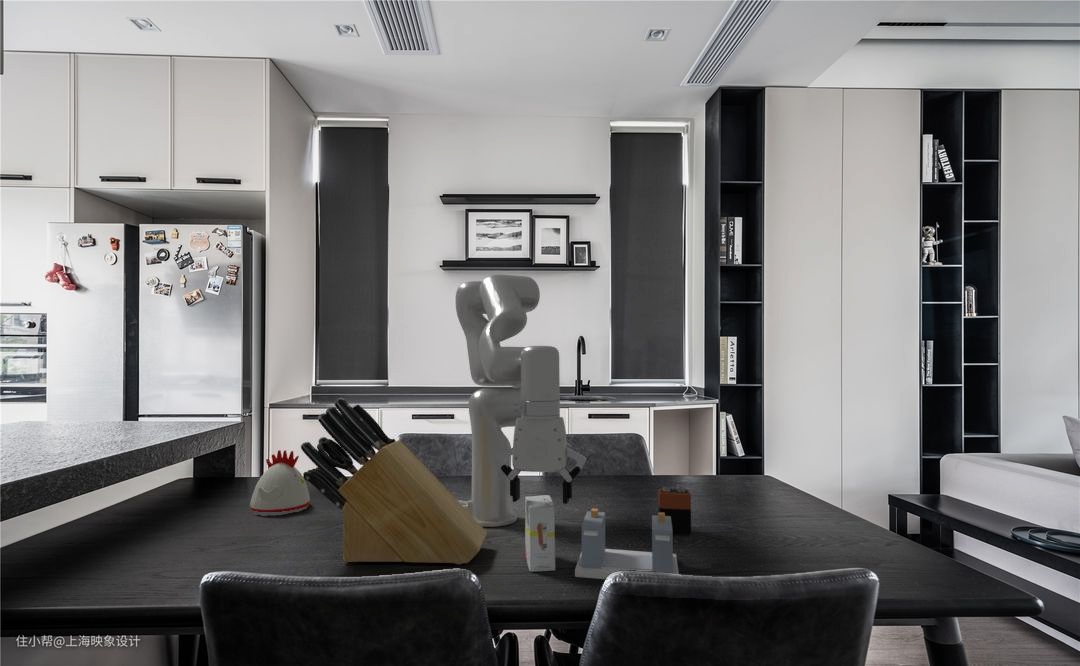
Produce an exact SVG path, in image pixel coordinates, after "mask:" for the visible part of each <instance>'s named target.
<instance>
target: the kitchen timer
mask: <svg viewBox="0 0 1080 666" xmlns="http://www.w3.org/2000/svg"><path fill="white" fill-rule="evenodd" d="M294 456H295V455H294V451H293V450H291V451H290V452H289V455H288V453H287V450H286V449H285V450H283V453H282V451H281V449H279V450H277V455H276V454H274V453H273V454H271V459H272V460H270V459H269V458H267V459H265V460H266V464H267V466H268V468H267V469H266V471H264V473H263V474H262V475H261V476H260V478H259V479H258V481H257V483H256V485H255V488H254V490H253V493H252V494H251V499H250V503H249V510H250V509H251V510H253V511H258V512H282V511H290V510H295V509H299V508H303V507H306V506H308V505H309V504H310V505H311V503H310V501H311V498H310V497H311V496H310V492H309V489H308V485H307V481H306V480H305V479H304V476H303V473H301V472H300V471H299V470H298V469H297V467H296V463H297V462H298V461H299V460H298V459H299V457H300V456H299V455H297V456H296V457H295V458H294ZM271 461H272V462H271Z"/></svg>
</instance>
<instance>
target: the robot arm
mask: <svg viewBox="0 0 1080 666" xmlns="http://www.w3.org/2000/svg"><path fill="white" fill-rule="evenodd" d="M540 297H541V292H540V288H539V285H538V283H537V281H536V280H535V279H534V278H532V277H530V276H527V275H526V276H524V275H513V274H512V275H511V274H492V275H488V276H487V277H485V278H484V279H483V280H482V281H481V280H479V281H478V280H473V281H467V282H464V283H462V284H461V285H459V286H458V288H457V290H456V293H455V311H456V315H457V319H458V321H459V324H460V326H461V329H462V331H463V334H464V337H465V340H466V341H465V342H466V348H467V354H468V355H467V356H468V357H467V358H468V364H469V372H470V376H471V379H472V381H473V383H474V384H475V385H478V386H482V387H486V388H481V389H478V390H475V391H474V392H473V393H472V394H471V395H470V397H469V399H468V414H469V422H470V429H471V499H468V500H460V499H456V500H457V501H458V502H459V503H460V504H461V505H462V506H463V507H464V508H465V509H466V510H467V511H468V512H469V513H470V514H471V516H472V517H473V518H474V519H475V520H476V521H477V522H478V523H479V524H480V525H481V526H482V527H483V528H484V527H485V528H486V527H487V528H493V527H496V528H497V527H503V526H507V525H510V524H514V523H515V522H516V521H517V520H518V514H517V512H515V511H514V510H513V509H512V506H511V505H512V503H516V502H517V501H518V500H520V498H521V479H520V477H519V475H520V473H521V472H526V473H527V472H531V473H532V472H534V473H559V474H560V475H561V477H563V480H564V481H563V482H562V503H563V505H567V504H568V503H569V501H570V499H572V498H573V479H575V477H577V476H578V474H580V472H581V471H582V469H583V467H584V465H585V463H586V460H587V457H586V456H584V455H582V454H581V453H579V452H578V451H575V450H574V449H572V448H570V447H568V442H567V432H566V431H567V430H566V425H565V420H564V417H563V416H561V411H560V410H561V398H560V396H561V395H560V389H561V388H560V387H561V383H560V382H561V381H560V352H559V350H558V348H556V346H552V345H530V346H501V342H503V341H505V340H506V341H507V340H509V339H510V338H513V337H515V336H516V335H518V334H520V333H521V332H522V331H523V330H524V329H525V327H526V325H527V322H528V316H527V313H529V312H532V311H534V310H535V309H536V308H537V307H538V305H539V302H540V299H541V298H540ZM484 315H486V316H487V318H486V317H485V316H484ZM487 387H488V388H487ZM507 427H508V428H509V427H512V428H513V427H514V432H513V443H512V445H511V441H510V440H509V439H508V437H507V436H506V434H505V433H504V432H503V430H502V428H507ZM568 458H570V459H573V460H574V461H576V464H575V466H574V468H572V470H570V469H569V467H568V462H569V459H568Z"/></svg>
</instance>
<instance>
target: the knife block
mask: <svg viewBox="0 0 1080 666" xmlns="http://www.w3.org/2000/svg"><path fill="white" fill-rule="evenodd" d="M333 405H334V406H335V407H333V406H330V407H328V408H327V409H326V411H325V412H323V413H320V415H318V417H317V421H318V422H319V424H320V425H321V426H322V428H323V429H325V431H326V432H327V433H328V434H329V436H330V437H331V438H332V439H331V438H328V437H325V436H322V437H320V438H319V439H318V441H317V442H318V443H317V445H316V447H315V446H313V444H311V442H310V441H305V442H303V443H302V444H301V445H300V450H302V452H303V453H304V454H305V455H306V456H307V458H308V459H309V460H310V461H311V462H312V463H313V464H314V465H315V466H316V467H315V468H312V469H308V470H307V471H304V472H303V473H302V476H303V478H304V480H305V481H306V482H308V483H310V484H311V485H312V486H314V487H315V488H316V489H317V490H318V492H320V493H321V494H322V495H323V497H325V498H326V499H327V500H329V501H330V502H331V503H332V504H333V505H334V506H336V507H337V508H338V509H340V510H341V511H343V513H342V514H343V516H342V520H343V523H342V524H343V526H342V527H343V529H342V531H343V532H342V536H343V537H342V541H343V542H342V547H343V549H342V550H343V553H342V556H343V558H342V559H343V562H349V561H351V562H355V563H357V562H358V563H359V562H360V563H361V562H364V563H365V562H369V563H371V562H372V563H373V562H374V563H375V562H393V563H394V562H401V563H402V562H405V563H430V564H431V563H433V564H434V563H435V564H438V563H439V564H440V563H442V564H443V563H444V564H446V563H447V564H455V565H462V564H468V563H470V562H471V560H473V559H474V558H475V556H476V555H477V554H478V553H479V552H480V551H481V548H482V546H483V543H484V542H485V540H486V538H487V535H488V531H487V530H486V529H485V528H484V527H482V526H481V525H480V524H479V523H478V522H477V521H476V520H475V519H474V518H473V517H472V516H471V514H470V513H469V512H468V511H467V510H466V509H465V508H464V507H463V506H462V505H461V504H460V503H459V502H458V501H457V500H458V499H457V498H456V497H454V495H453V494H452V493H451V492H450V491H449V490H448V488H446V486H444V485H443V483H441V481H439V479H438V478H437V477H436V476H435V475H434V474H433V473H432V472H431V471H430V470H429V469H428V468H427V467H426V465H425V464H423V462H422V461H421V460H420V459H419V458H418V457H417V456H416V455H415V454H414V453H413V452H412V451H411V450H410V448H408V447H407V446H406V445H405V444H404V443H403V442H402V441H401V440H399V439H398V440H396V439H395V438H390V437H388V436H387V434H386V433H385V431H383V428H381V426H380V425H379V424H378V422H377V421H376V420H375V419H374V417H372V415H371V414H370V413H369V412H367V410H365V409H364V407H362V406H361V405H360V404H355V406H353V407H352V406H351V405H350V404H349V403H348V402H347V401H346V399H345V398H342V397H339V398H337V399H335V400H334V402H333ZM376 450H377V451H376ZM353 460H354V461H353ZM354 462H356V463H358V464H359V465H360V466H361V467H360V468H358V469H357V468H356V466H355V465H354ZM339 469H342V470H344V471H347V472H348V473H350V474H351V477H349V478H348V477H347V476H346V475H345V474H344V473H343V472H341V471H340V470H339Z"/></svg>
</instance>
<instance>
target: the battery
mask: <svg viewBox="0 0 1080 666" xmlns="http://www.w3.org/2000/svg"><path fill="white" fill-rule="evenodd" d="M657 491H658V492H657V500H658V501H657V503H658V505H657V506H658V512H664V513H665V516H671V523H672V530H673V535H677V536H678V535H680V536H690V535H691V534H692V494H691V493H690V491H689V490H688V489H687V487H686V486H676V488H670V486H662V488H659V489H658V490H657ZM658 512H657V513H658Z"/></svg>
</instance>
